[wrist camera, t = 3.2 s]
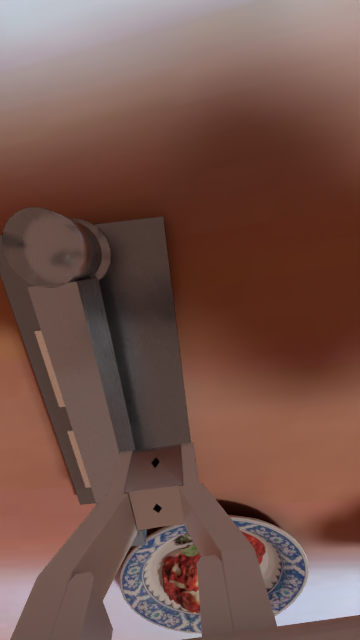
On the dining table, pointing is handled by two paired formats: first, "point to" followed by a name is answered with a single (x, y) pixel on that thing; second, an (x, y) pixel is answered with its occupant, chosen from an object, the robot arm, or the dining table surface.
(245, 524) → the ceramic plate
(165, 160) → the dining table surface
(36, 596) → the robot arm
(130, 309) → the double power outlet
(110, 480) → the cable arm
